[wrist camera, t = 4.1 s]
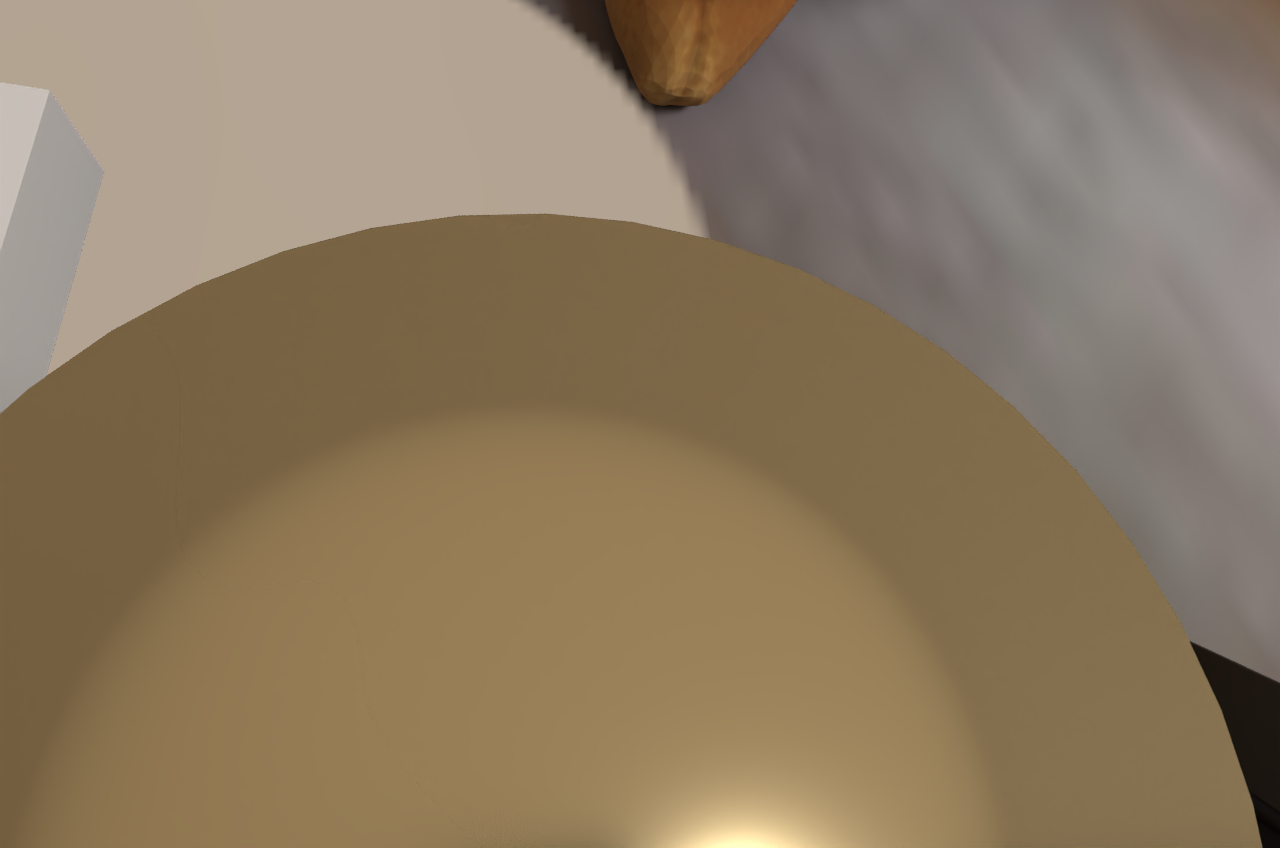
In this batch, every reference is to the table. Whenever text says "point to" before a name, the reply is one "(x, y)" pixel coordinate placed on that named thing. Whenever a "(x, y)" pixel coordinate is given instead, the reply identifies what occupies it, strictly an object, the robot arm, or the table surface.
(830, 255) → the table surface
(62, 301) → the socket
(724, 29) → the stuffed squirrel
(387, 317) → the coupler
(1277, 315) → the table surface
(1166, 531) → the table surface
